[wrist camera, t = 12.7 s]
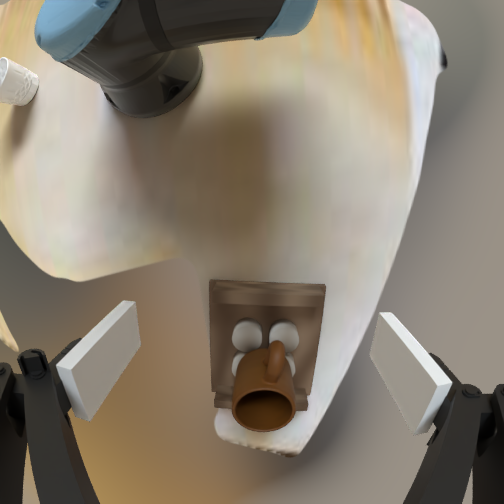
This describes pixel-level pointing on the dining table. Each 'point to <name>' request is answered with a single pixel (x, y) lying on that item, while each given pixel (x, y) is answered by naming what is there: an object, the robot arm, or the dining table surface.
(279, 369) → the mug
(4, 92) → the white cup
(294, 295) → the peg stand
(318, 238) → the dining table surface
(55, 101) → the dining table surface
